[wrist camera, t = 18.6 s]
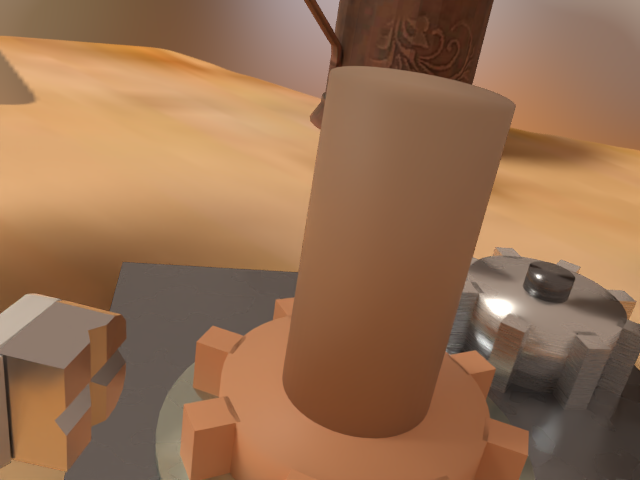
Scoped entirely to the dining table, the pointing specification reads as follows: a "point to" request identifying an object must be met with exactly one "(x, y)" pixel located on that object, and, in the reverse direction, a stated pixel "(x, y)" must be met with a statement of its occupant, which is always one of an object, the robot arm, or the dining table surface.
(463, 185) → the gear
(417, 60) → the cup holder
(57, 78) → the dining table surface
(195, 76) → the dining table surface
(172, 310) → the carrier plate
